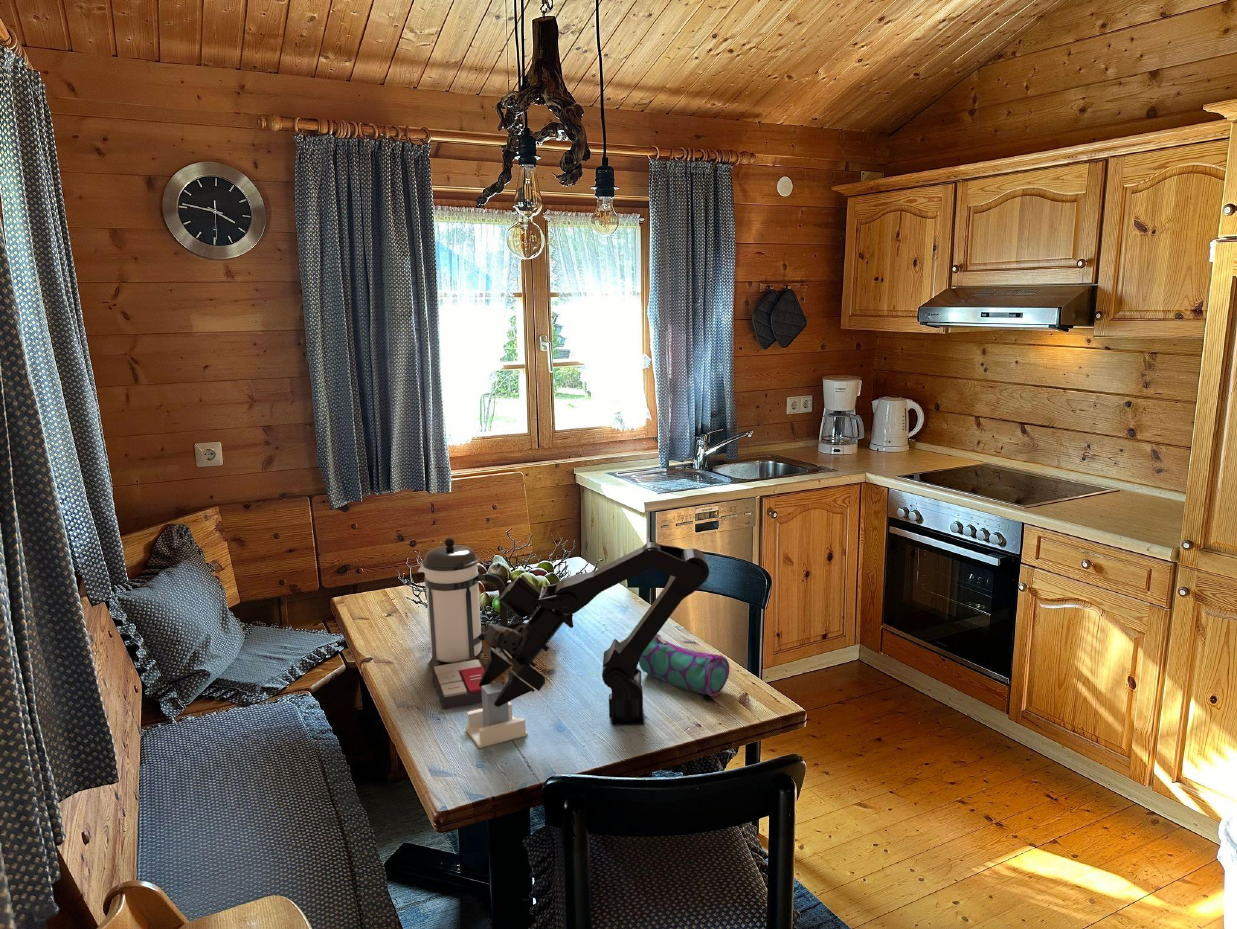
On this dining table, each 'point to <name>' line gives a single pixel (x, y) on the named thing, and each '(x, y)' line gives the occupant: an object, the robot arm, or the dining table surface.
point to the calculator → (458, 683)
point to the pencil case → (685, 667)
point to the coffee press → (456, 602)
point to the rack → (494, 729)
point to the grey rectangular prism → (490, 711)
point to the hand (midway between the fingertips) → (487, 696)
